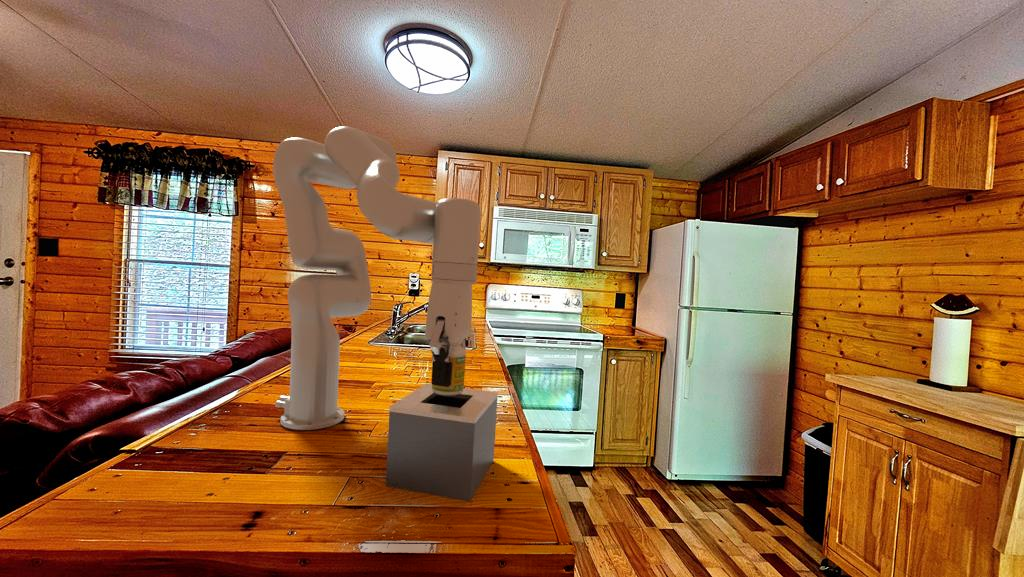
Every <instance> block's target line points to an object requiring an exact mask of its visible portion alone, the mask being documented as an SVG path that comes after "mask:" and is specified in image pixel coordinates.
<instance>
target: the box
mask: <svg viewBox="0 0 1024 577" xmlns="http://www.w3.org/2000/svg"><path fill="white" fill-rule="evenodd" d="M498 395H499V392H497V391H496V392H495V391H489V390H488V391H487V390H481V389H471V388H464V390H463V392H462V393H460V394H458V395H439V394H436V393H434V392H433V391H432V383H424V384H423V385H421V386H420V387H418V388H417V389H415V390H413V391H412V392H410V393H408V394H407V395H406V396H404V397H402V398H401V399H399V400H398V401H396V402H394V403H393V404H391V405H389V412H388V413H389V415H388V431H387V432H388V435H387V454H386V455H387V456H386V474H385V477H386V478H385V479H386V480H385V486H386V487H389V488H390V487H391V488H396V489H401V490H407V491H413V492H418V493H424V494H429V495H434V496H438V497H439V496H440V497H445V498H449V499H456V500H461V501H466V502H471V501H472V499H473V497H474V496H475V494H476V492H477V491H478V488H479V487H480V485H481V484H482V482H483V480H484V478H485V476H487V473H488V472H489V469H490V468H491V467H492V464H493V463H494V461H495V460H494V458H495V443H496V442H495V441H496V426H497V425H496V424H497V412H498V411H497V410H498V397H499V396H498Z"/></svg>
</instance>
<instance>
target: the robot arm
mask: <svg viewBox="0 0 1024 577" xmlns="http://www.w3.org/2000/svg"><path fill="white" fill-rule="evenodd" d="M397 160H398V159H397V152H396V150H395V148H394V146H393V145H392V144H391V143H390V142H389V141H387V140H386V139H385V138H382V137H379V136H377V135H374V134H372V133H368V132H366V131H364V130H361V129H358V128H355V127H351V126H344V125H343V126H338V127H335V128H333V129H331V130H330V131H329V132H328V133H327V135H326V137H325V139H324V143H322V142H318V141H316V140H315V141H314V140H312V139H308V138H303V137H290V138H289V137H288V138H286V139H284V140H282V141H281V142H280V143H279V144H278V146H277V147H276V149H275V151H274V156H273V162H272V171H273V172H272V173H273V180H274V184H275V186H276V190H277V192H278V195H279V197H280V200H281V201H280V202H281V203H282V206H283V212H284V220H285V226H286V234H287V242H288V247H289V255H290V258H291V261H292V262H293V264H294V265H295V266H297V267H299V268H301V269H304V270H320V271H321V270H322V271H335V273H336V274H321V273H319V274H318V273H317V274H315V273H313V274H306V275H301V276H299V277H297V278H295V279H294V280H292V282H291V283H290V285H289V286H288V290H287V303H288V309H289V315H290V326H291V327H290V330H291V344H290V372H289V373H290V374H289V375H290V376H289V377H290V378H289V395H284V394H283V395H280V396H279V397H278V400H276V402H275V404H274V405H275V408H282V409H284V413H283V414H282V415H281V416H280V420H279V423H280V425H281V426H282V427H284V428H285V429H290V430H295V431H313V430H319V429H320V430H321V429H324V428H325V429H326V428H329V427H333V426H335V425H337V424H339V423H341V422H343V420H344V419H345V414H346V413H345V411H344V409H342V408H341V407H338V398H339V394H338V393H339V380H340V379H339V373H340V353H341V352H340V350H341V339H340V334H339V331H338V330H337V328H336V327H335V325H334V323H333V321H332V319H335V318H346V317H356V316H360V315H362V314H364V313H366V312H367V310H369V307H370V305H371V301H372V289H371V288H372V287H371V283H370V282H371V281H370V275H369V268H368V260H367V254H366V250H365V245H364V243H363V241H362V240H361V238H360V237H359V236H358V235H357V234H356V233H354V232H353V231H352V230H351V231H350V230H348V229H341V228H333V227H332V226H331V224H330V220H329V213H328V209H327V206H326V202H325V201H324V199H323V197H322V196H321V194H320V193H319V192H318V190H317V189H316V188H315V187H314V186H313V184H312V183H316V184H320V185H325V186H329V187H334V188H338V189H343V190H354V189H356V198H357V205H358V208H359V210H360V212H361V213H362V215H363V216H364V217H365V219H366V220H368V222H369V223H370V224H372V226H374V228H375V229H377V231H379V232H380V233H381V234H383V235H384V236H386V237H388V238H390V239H393V240H400V241H407V242H415V243H421V244H422V243H423V244H431V245H433V246H432V259H431V263H432V264H431V280H430V281H431V288H430V292H429V297H428V304H427V313H426V321H425V331H424V338H425V341H426V342H427V343H429V347H430V349H431V351H430V352H431V361H432V366H431V368H432V369H431V383H430V384H432V385H436V386H444V387H449V386H450V385H451V378H452V362H450V359H451V354H452V348H453V344H455V343H457V342H459V341H460V340H462V339H463V340H462V344H461V347H463V348H464V349H465V350H466V342H467V338H468V337H469V336H470V335H471V331H472V330H471V328H472V320H473V319H472V317H473V312H472V311H473V285H477V277H478V262H479V246H480V230H481V216H482V215H481V213H482V212H481V206H480V205H479V203H477V202H476V201H474V200H472V199H466V198H461V197H459V198H458V197H447V198H441V199H440V200H438V201H437V202H436V201H433V200H429V199H425V198H421V197H418V196H414V195H410V194H405V193H402V192H401V191H399V190H397V189H396V187H397V186H398V183H399V181H400V176H401V174H400V169H399V166H398V164H397V162H398V161H397ZM442 339H448V340H447V341H449V342H441V340H442ZM441 346H444V347H447V350H446V352H445V349H444V348H443V347H441Z"/></svg>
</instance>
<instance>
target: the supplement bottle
mask: <svg viewBox="0 0 1024 577" xmlns="http://www.w3.org/2000/svg"><path fill="white" fill-rule="evenodd" d="M447 340H448V339H442V340H441V342H449V341H447ZM462 340H463V339H462ZM462 340H460V341H459V342H457V343H455V344H453V348H452V354H451V359H450V362H452V378H451V385H450V386H449V387H444V386H436V385H432V391H433V392H434V393H436V394H439V395H458V394H460V393H462V392H463V390H464V387H465V375H466V374H465V373H466V357H467V356H466V355H467V350H466V348H465V349H464V348H463V347H461V344H462ZM441 347H443V348H444V349H445V352H446V350H447V347H444V346H441Z"/></svg>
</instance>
